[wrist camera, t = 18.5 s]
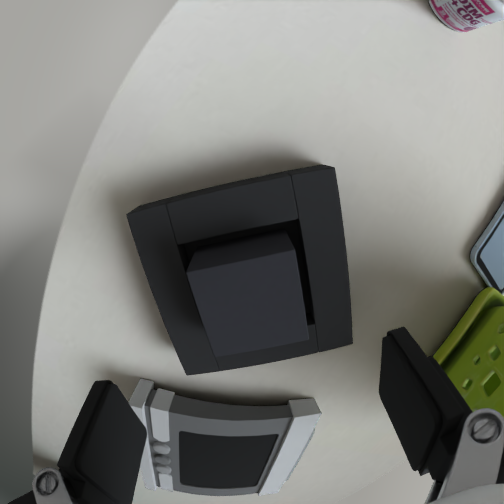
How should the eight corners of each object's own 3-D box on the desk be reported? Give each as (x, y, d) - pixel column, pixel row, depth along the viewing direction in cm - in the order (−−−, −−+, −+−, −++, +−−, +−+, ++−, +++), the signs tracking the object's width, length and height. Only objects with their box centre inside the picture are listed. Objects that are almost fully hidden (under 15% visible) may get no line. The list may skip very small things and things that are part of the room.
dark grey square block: (219, 321, 20) (214, 357, 17) (196, 246, 19) (185, 272, 15) (298, 305, 20) (309, 339, 16) (284, 227, 18) (295, 249, 15)
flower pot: (526, 311, 23) (591, 369, 11) (457, 402, 27) (501, 474, 15) (477, 261, 21) (578, 336, 9) (388, 384, 25) (440, 489, 13)
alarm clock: (127, 404, 20) (330, 437, 20) (145, 369, 25) (323, 398, 25) (145, 488, 26) (281, 510, 26) (154, 460, 30) (281, 481, 30)
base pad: (191, 354, 23) (186, 375, 20) (139, 205, 19) (125, 214, 16) (343, 325, 22) (352, 344, 20) (323, 164, 18) (334, 167, 16)
